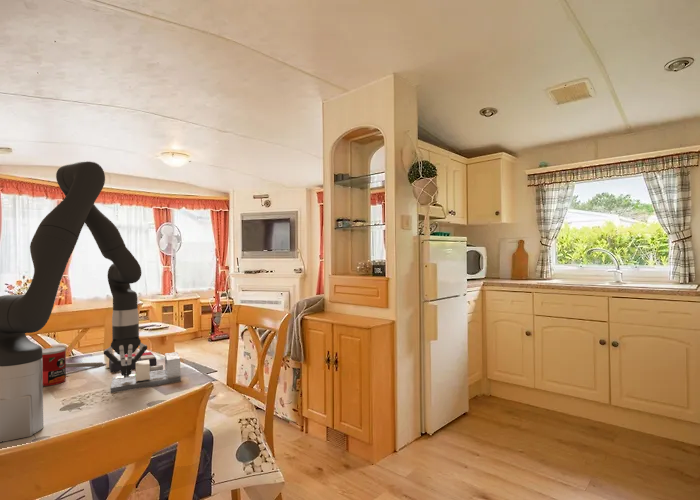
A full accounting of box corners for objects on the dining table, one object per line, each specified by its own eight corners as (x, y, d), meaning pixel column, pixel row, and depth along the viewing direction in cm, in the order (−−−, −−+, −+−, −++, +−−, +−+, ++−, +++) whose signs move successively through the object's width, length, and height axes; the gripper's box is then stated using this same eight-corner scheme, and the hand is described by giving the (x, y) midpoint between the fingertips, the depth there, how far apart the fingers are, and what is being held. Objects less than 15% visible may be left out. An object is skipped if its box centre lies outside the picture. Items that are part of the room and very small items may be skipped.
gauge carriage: (163, 377, 130) (163, 362, 130) (135, 381, 126) (135, 365, 126) (161, 369, 139) (161, 355, 139) (135, 373, 135) (135, 358, 135)
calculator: (156, 356, 151) (111, 361, 143) (156, 367, 151) (110, 373, 143) (152, 351, 160) (109, 355, 152) (151, 361, 160) (108, 366, 152)
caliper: (40, 378, 138) (40, 360, 138) (40, 378, 139) (39, 360, 139) (106, 365, 153) (106, 349, 153) (105, 365, 154) (105, 348, 154)
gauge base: (180, 381, 131) (180, 359, 131) (110, 392, 121) (110, 368, 121) (177, 372, 142) (177, 351, 142) (112, 382, 132) (112, 359, 132)
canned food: (51, 386, 128) (50, 353, 128) (31, 385, 130) (30, 352, 130) (72, 379, 136) (71, 347, 136) (52, 378, 137) (52, 346, 137)
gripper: (100, 327, 121) (101, 383, 121) (148, 322, 128) (149, 376, 128) (102, 323, 128) (103, 376, 128) (148, 319, 134) (148, 370, 134)
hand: (126, 376), depth 128 cm, fingers closed
